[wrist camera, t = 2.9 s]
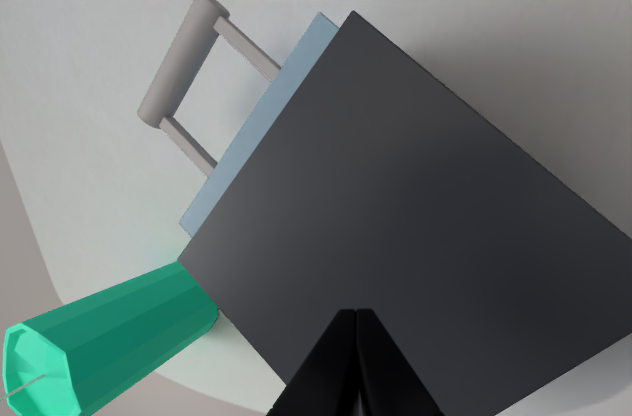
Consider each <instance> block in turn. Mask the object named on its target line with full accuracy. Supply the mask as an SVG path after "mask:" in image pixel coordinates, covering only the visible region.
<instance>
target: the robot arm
mask: <svg viewBox="0 0 632 416" xmlns="http://www.w3.org/2000/svg"><path fill="white" fill-rule="evenodd" d="M360 400H361V409H362V416H445V415H444V413H443V412H441V411H440V408H439V406H438V405H437V403H436V402H435V400H434V399H433V397H432V396H431V394H430V393H429V392H428V390H427V389H426V387H425V386H424V384H423V383H422V381H421V380H420V378H419V377H418V375H417V374H416V372H415V371H414V369H413V368H412V366H411V365H410V364H409V362H408V361H407V359H406V358H405V356H404V355H403V353H402V352H401V350H400V349H399V347H398V346H397V344H396V343H395V341H394V340H393V338H392V337H391V335H390V334H389V333H388V331H387V330H386V328H385V327H384V325H383V324H382V322H381V321H380V319H379V318H378V316H377V315H376V313H375V312H374V310H373V309H371V308H358V309H357V310H356V311H355V309H340V310H338V312H337V313H336V315H335V316H334V318H333V319H332V320H331V322H330V323H329V325H328V326H327V328H326V329H325V331H324V332H323V334H322V335H321V336H320V338H319V339H318V341H317V342H316V344H315V345H314V347H313V348H312V350H311V351H310V352H309V354H308V355H307V357H306V358H305V360H304V361H303V363H302V364H301V366H300V367H299V368H298V370H297V371H296V373H295V374H294V376H293V377H292V379H291V380H290V382H289V383H288V384H287V386H286V387H285V389H284V390H283V392H282V393H281V395H280V396H279V398H278V399H277V400H276V402H275V403H274V405H273V408H271V409H270V410H269V412H268V413H267V415H266V416H359V406H360Z"/></svg>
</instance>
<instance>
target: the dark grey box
mask: <svg viewBox="0 0 632 416" xmlns="http://www.w3.org/2000/svg"><path fill="white" fill-rule="evenodd" d="M177 260H178V262H179V263H180V264H181V265H182V266H183V267H184V268H185V270H186V271H187V272H188V273H189V274H190V275H191V276H192V278H193V279H194V280H195V281H196V282H197V283H198V284H199V286H200V287H201V288H202V289H203V290H204V291H205V292H206V294H207V295H208V296H209V297H210V298H211V299H212V300H213V302H214V303H215V304H216V305H217V306H218V307H219V308H220V310H221V311H222V312H223V313H224V314H225V315H226V316H227V318H228V319H229V320H230V321H231V322H232V323H233V324H234V326H235V327H236V328H237V329H238V330H239V331H240V333H241V334H242V335H243V336H244V337H245V338H246V339H247V341H248V342H249V343H250V344H251V345H252V346H253V347H254V349H255V350H256V351H257V352H258V353H259V354H260V355H261V357H262V358H263V359H264V360H265V361H266V362H267V363H268V365H269V366H270V367H271V368H272V369H273V370H274V371H275V373H276V374H277V375H278V376H279V377H280V378H281V379H282V381H283V382H284V383H285V384H286V385H287V384H288V383H289V382H290V380H291V379H292V377H293V376H294V374H295V373H296V371H297V370H298V368H299V367H300V366H301V364H302V363H303V361H304V360H305V358H306V357H307V355H308V354H309V352H310V351H311V350H312V348H313V347H314V345H315V344H316V342H317V341H318V339H319V338H320V336H321V335H322V334H323V332H324V331H325V329H326V328H327V326H328V325H329V323H330V322H331V320H332V319H333V318H334V316H335V315H336V313H337V312H338V310H340V309H355V311H356V310H357V309H358V308H371V309H373V310H374V312H375V313H376V315H377V316H378V318H379V319H380V321H381V322H382V324H383V325H384V327H385V328H386V330H387V331H388V333H389V334H390V335H391V337H392V338H393V340H394V341H395V343H396V344H397V346H398V347H399V349H400V350H401V352H402V353H403V355H404V356H405V358H406V359H407V361H408V362H409V364H410V365H411V366H412V368H413V369H414V371H415V372H416V374H417V375H418V377H419V378H420V380H421V381H422V383H423V384H424V386H425V387H426V389H427V390H428V392H429V393H430V394H431V396H432V397H433V399H434V400H435V402H436V403H437V405H438V406H439V408H440V411H441V412H443V413H444V415H445V416H495V415H496V414H498V413H500V412H501V411H503V410H505V409H506V408H508V407H510V406H511V405H513V404H515V403H516V402H518V401H520V400H521V399H523V398H525V397H526V396H528V395H530V394H531V393H533V392H535V391H536V390H538V389H540V388H541V387H543V386H545V385H546V384H548V383H550V382H551V381H553V380H555V379H556V378H558V377H559V376H561V375H563V374H564V373H566V372H568V371H569V370H571V369H573V368H574V367H576V366H578V365H579V364H581V363H583V362H584V361H586V360H588V359H589V358H591V357H593V356H594V355H596V354H598V353H599V352H601V351H603V350H604V349H606V348H608V347H609V346H611V345H613V344H614V343H616V342H618V341H619V340H621V339H622V338H624V337H626V336H627V335H629V334H631V333H632V239H631V238H629V237H628V236H627V235H626V234H625V233H623V232H622V231H621V230H620V229H618V228H617V227H616V226H615V225H614V224H612V223H611V222H610V221H609V220H608V219H606V218H605V217H604V216H603V215H601V214H600V213H599V212H598V211H597V210H595V209H594V208H593V207H592V206H591V205H589V204H588V203H587V202H586V201H585V200H583V199H582V198H581V197H580V196H578V195H577V194H576V193H575V192H574V191H572V190H571V189H570V188H569V187H568V186H566V185H565V184H564V183H563V182H561V181H560V180H559V179H558V178H557V177H555V176H554V175H553V174H552V173H551V172H549V171H548V170H547V169H546V168H544V167H543V166H542V165H541V164H540V163H538V162H537V161H536V160H535V159H534V158H532V157H531V156H530V155H529V154H528V153H526V152H525V151H524V150H523V149H521V148H520V147H519V146H518V145H517V144H515V143H514V142H513V141H512V140H511V139H509V138H508V137H507V136H506V135H504V134H503V133H502V132H501V131H500V130H498V129H497V128H496V127H495V126H494V125H492V124H491V123H490V122H489V121H488V120H486V119H485V118H484V117H483V116H481V115H480V114H479V113H478V112H477V111H475V110H474V109H473V108H472V107H471V106H469V105H468V104H467V103H466V102H464V101H463V100H462V99H461V98H460V97H458V96H457V95H456V94H455V93H454V92H452V91H451V90H450V89H449V88H447V87H446V86H445V85H444V84H443V83H441V82H440V81H439V80H438V79H437V78H435V77H434V76H433V75H432V74H431V73H429V72H428V71H427V70H426V69H424V68H423V67H422V66H421V65H420V64H418V63H417V62H416V61H415V60H414V59H412V58H411V57H410V56H409V55H407V54H406V53H405V52H404V51H403V50H401V49H400V48H399V47H398V46H397V45H395V44H394V43H393V42H392V41H390V40H389V39H388V38H387V37H386V36H384V35H383V34H382V33H381V32H380V31H378V30H377V29H376V28H375V27H374V26H372V25H371V24H370V23H369V22H367V21H366V20H365V19H364V18H363V17H361V16H360V15H359V14H358V13H357V12H355V11H352V12H351V13H350V14H349V16H348V17H347V19H346V20H345V22H344V23H343V24H342V26H341V27H340V29H339V30H338V31H337V33H336V34H335V36H334V37H333V39H332V40H331V41H330V43H329V44H328V46H327V47H326V49H325V50H324V51H323V53H322V54H321V56H320V57H319V59H318V60H317V61H316V63H315V64H314V66H313V67H312V68H311V70H310V71H309V73H308V74H307V76H306V77H305V78H304V80H303V81H302V83H301V84H300V86H299V87H298V88H297V90H296V91H295V93H294V94H293V96H292V97H291V98H290V100H289V101H288V103H287V104H286V105H285V107H284V108H283V110H282V111H281V113H280V114H279V115H278V117H277V118H276V120H275V121H274V123H273V124H272V125H271V127H270V128H269V130H268V131H267V133H266V134H265V135H264V137H263V138H262V140H261V141H260V142H259V144H258V145H257V147H256V148H255V150H254V151H253V152H252V154H251V155H250V157H249V158H248V160H247V161H246V162H245V164H244V165H243V167H242V168H241V170H240V171H239V172H238V174H237V175H236V177H235V178H234V179H233V181H232V182H231V184H230V185H229V187H228V188H227V189H226V191H225V192H224V194H223V195H222V197H221V198H220V199H219V201H218V202H217V204H216V205H215V207H214V208H213V209H212V211H211V212H210V214H209V215H208V216H207V218H206V219H205V221H204V222H203V224H202V225H201V226H200V228H199V229H198V231H197V232H196V234H195V235H194V236H193V238H192V239H191V241H190V242H189V244H188V245H187V246H186V248H185V249H184V251H183V252H182V253H181V255H180V256H179V258H178V259H177ZM359 416H362V409H361V400H360V406H359Z"/></svg>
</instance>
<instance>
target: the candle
mask: <svg viewBox="0 0 632 416" xmlns="http://www.w3.org/2000/svg"><path fill="white" fill-rule="evenodd" d="M217 318H218V306H217V305H216V304H215V303H214V302H213V300H212V299H211V298H210V297H209V296H208V295H207V294H206V292H205V291H204V290H203V289H202V288H201V287H200V286H199V284H198V283H197V282H196V281H195V280H194V279H193V278H192V276H191V275H190V274H189V273H188V272H187V271H186V270H185V268H184V267H183V266H182V265H181V264H180V263H179V262H178V261H176V262H174V263H171V264H169V265H166V266H164V267H161V268H159V269H156V270H153V271H151V272H148V273H146V274H143V275H141V276H138V277H136V278H133V279H131V280H128V281H125V282H123V283H120V284H118V285H115V286H113V287H110V288H108V289H105V290H103V291H100V292H97V293H95V294H92V295H90V296H87V297H85V298H82V299H80V300H77V301H75V302H72V303H70V304H67V305H64V306H62V307H59V308H57V309H54V310H52V311H49V312H47V313H44V314H42V315H39V316H37V317H34V318H32V319H29V320H26V321H24V322H21V323H19V324H17V325H14V326H12V327H10V328H8V329H6V335H5V340H4V345H3V370H2V375H3V381H4V387H5V393H6V395H4V396H2V397H1V398H0V401H1V400H3V399H5V398H6V399H7V404H8V406H9V407H10V408H11V409H12V410H13V411H14V412H15V413H16V414H17V415H18V416H91V415H92V414H94V413H95V412H97V411H98V410H99V409H101V408H102V407H103V406H105V405H106V404H108V403H109V402H110V401H111V400H113V399H114V398H116V397H117V396H119V395H120V394H121V393H123V392H124V391H125V390H127V389H128V388H130V387H131V386H132V385H134V384H135V383H137V382H138V381H140V380H141V379H142V378H143V377H145V376H147V375H148V374H149V373H151V372H152V371H154V370H155V369H156V368H158V367H159V366H160V365H162V364H163V363H165V362H166V361H167V360H169V359H170V358H172V357H173V356H174V355H176V354H177V353H179V352H180V351H181V350H183V349H184V348H185V347H187V346H188V345H190V344H191V343H192V342H194V341H195V340H197V339H198V338H199V337H201V336H202V335H204V334H205V333H206V332H208V331H209V330H210V328H211V327H212V325H213V324H214V322H215V321H216V319H217Z"/></svg>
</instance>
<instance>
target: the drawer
mask: <svg viewBox="0 0 632 416" xmlns="http://www.w3.org/2000/svg"><path fill="white" fill-rule="evenodd" d="M229 16H230V13H229V11H228V10H227V9H226V8H225V7H223V6H222V5H221V4H220V3H219V2H217V1H216V0H194V1H193V3H192V5H191V7H190V9H189V11H188V13H187V14H186V16H185V18H184V20H183V22H182V24H181V26H180V28H179V30H178V32H177V34H176V36H175V38H174V40H173V42H172V44H171V46H170V48H169V50H168V52H167V54H166V56H165V58H164V60H163V62H162V63H161V65H160V67H159V69H158V71H157V73H156V75H155V77H154V79H153V81H152V83H151V85H150V87H149V89H148V91H147V93H146V95H145V97H144V99H143V101H142V103H141V105H140V107H139V109H138V110H137V115H138V117H139V118H140V119H141V120H142V121H143V122H145V123H146V124H148V125H150V126H152V127H154V128H157V129H162V130H163V131H164V132H165V133H166V134H167V135H168V136H169V137H170V139H171V140H172V141H173V142H174V143H175V144H176V145H177V146H178V147H179V148H180V149H181V150H182V151H183V152H184V153H185V154H186V155H187V156H188V157H189V158H190V160H191V161H192V162H193V163H194V164H195V165H196V166H197V167H198V168H199V169H200V170H201V171H202V172H203V173H204V174H205V175H206V176H207V177H208V179H207V181H206V182H205V184H204V185H203V187H202V188H201V190H200V191H199V193H198V194H197V196H196V197H195V199H194V200H193V202H192V203H191V205H190V206H189V208H188V209H187V211H186V212H185V214H184V215H183V217H182V218H181V220H180V221H179V224H180V225H181V226H182V227H183V229H184V230H185V231H186V232H187V233H188V234H189V235H190V236H191V237H192V238H193V236H194V235H195V234H196V232H197V231H198V229H199V228H200V226H201V225H202V224H203V222H204V221H205V219H206V218H207V216H208V215H209V214H210V212H211V211H212V209H213V208H214V207H215V205H216V204H217V202H218V201H219V199H220V198H221V197H222V195H223V194H224V192H225V191H226V189H227V188H228V187H229V185H230V184H231V182H232V181H233V179H234V178H235V177H236V175H237V174H238V172H239V171H240V170H241V168H242V167H243V165H244V164H245V162H246V161H247V160H248V158H249V157H250V155H251V154H252V152H253V151H254V150H255V148H256V147H257V145H258V144H259V142H260V141H261V140H262V138H263V137H264V135H265V134H266V133H267V131H268V130H269V128H270V127H271V125H272V124H273V123H274V121H275V120H276V118H277V117H278V115H279V114H280V113H281V111H282V110H283V108H284V107H285V105H286V104H287V103H288V101H289V100H290V98H291V97H292V96H293V94H294V93H295V91H296V90H297V88H298V87H299V86H300V84H301V83H302V81H303V80H304V78H305V77H306V76H307V74H308V73H309V71H310V70H311V68H312V67H313V66H314V64H315V63H316V61H317V60H318V59H319V57H320V56H321V54H322V53H323V51H324V50H325V49H326V47H327V46H328V44H329V43H330V41H331V40H332V39H333V37H334V36H335V34H336V33H337V31H338V30H339V29H340V28H339V27H337V26H336V25H335V24H334V23H333V22H332V21H330V20H329V19H328V18H327V17H326V16H324V15H323V14H322V13H321V12H318V14H317V15H316V17H315V18H314V20H313V21H312V23H311V24H310V26H309V27H308V29H307V30H306V32H305V33H304V35H303V36H302V38H301V39H300V41H299V42H298V44H297V45H296V47H295V48H294V50H293V51H292V53H291V54H290V56H289V57H288V59H287V60H286V62H285V63H284V65H283V66H282V68H281V67H280V66H279V65H278V64H277V63H276V62H275V61H273V60H272V59H271V58H270V57H269V56H268V55H267V54H266V53H265V52H264V51H262V50H261V49H260V48H259V47H258V46H257V45H256V44H255V43H254V42H253V41H251V40H250V39H249V38H248V37H247V36H246V35H245V34H244V33H243V32H242V31H241V30H239V29H238V28H237V27H236V26H235V25H234V24H233V23H232V22H231V21H230V20H228V18H229ZM219 34H220V35H221V36H222V37H223V38H224V39H225V40H226V41H227V42H228V43H230V44H231V45H232V46H233V47H234V48H235V49H236V50H237V51H238V52H239V53H240V54H241V55H242V56H243V57H245V58H246V59H247V60H248V61H249V62H250V63H251V64H252V65H253V66H254V67H255V68H256V69H257V70H259V71H260V72H261V73H262V74H263V75H264V76H265V77H266V78H267V79H268V80H269V81H270V82H271V84H270V86H269V87H268V89H267V90H266V92H265V93H264V95H263V96H262V98H261V99H260V101H259V102H258V104H257V105H256V107H255V109H254V110H253V112H252V113H251V115H250V116H249V118H248V119H247V121H246V122H245V124H244V125H243V127H242V128H241V130H240V131H239V133H238V134H237V136H236V137H235V139H234V140H233V142H232V143H231V145H230V146H229V148H228V149H227V151H226V152H225V154H224V155H223V157H222V158H221V160H220V161H219V163H217V162H216V161H215V160H214V159H213V158H212V157H211V156H210V155H209V154H208V153H207V152H206V150H205V149H204V148H203V147H202V146H201V145H200V144H199V143H198V142H197V141H196V140H195V139H194V138H193V137H192V136H191V135H190V134H189V133H188V132H187V131H186V130H185V129H184V128H183V127H182V126H181V125H180V124H179V123H178V122H177V121H176V119H175V118H173V116H174V114H175V112H176V110H177V109H178V107H179V105H180V103H181V102H182V100H183V98H184V96H185V94H186V93H187V91H188V89H189V87H190V86H191V84H192V82H193V80H194V78H195V77H196V75H197V73H198V71H199V70H200V68H201V66H202V64H203V62H204V61H205V59H206V57H207V55H208V54H209V52H210V50H211V48H212V46H213V45H214V43H215V41H216V39H217V38H218V36H219Z"/></svg>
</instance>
